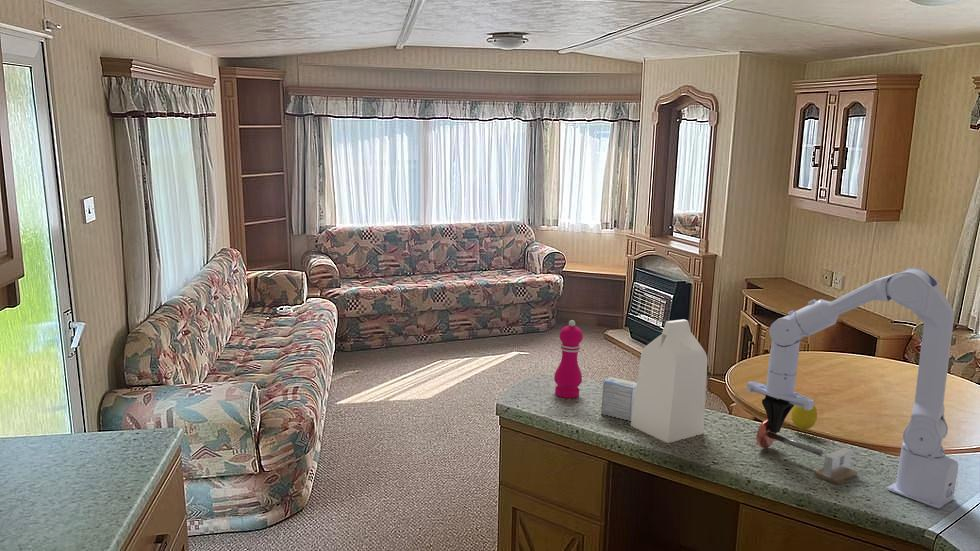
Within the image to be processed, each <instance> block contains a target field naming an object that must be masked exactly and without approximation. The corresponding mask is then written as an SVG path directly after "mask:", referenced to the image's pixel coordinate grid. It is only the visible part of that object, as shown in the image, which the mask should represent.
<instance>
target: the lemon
mask: <svg viewBox="0 0 980 551" xmlns="http://www.w3.org/2000/svg"><path fill="white" fill-rule="evenodd" d="M817 418H818V411H817V408H816V405H815V404H814V405H813V409H811V410H805V409H804V408H802V407H799V406H796V405H794V407H793V408H792V409H791V422H792V423H793V425H794V427H796V428H798V429H799V430H800V432H801V431H802V432H804V431H805V430H809V429H811V428H813V427H814V425H815V424H816V423H817Z"/></svg>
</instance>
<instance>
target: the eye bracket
mask: <svg viewBox="0 0 980 551" xmlns="http://www.w3.org/2000/svg"><path fill="white" fill-rule="evenodd" d="M852 454H853V449H852V448H848V447H846V446H845V447H842V448H840V449H838V450H835V451H833V452H831V453H828V454H826V455H825V456H824V461H823V467H822V468H820V469H818V470H816V471H814V474H813V476H814V477H816V478H820V479H822V480H825V481H827V482H831V483H833V484H835V485H837V486H840V485H841V484H843V483H846V482H847V481H849V480H851V479H853V478H856V477H857V476H858V473H859V472H858V471H857V470H854V469H851V461H852Z"/></svg>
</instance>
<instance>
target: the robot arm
mask: <svg viewBox="0 0 980 551" xmlns="http://www.w3.org/2000/svg"><path fill="white" fill-rule="evenodd" d="M891 300H892V301H893V302H895V303H897V304H898V305H900V306H902V307H904V308H906V309H909V310H910V311H911V312H913V314H914V315H916V316H917V317H918V318H919V319H920V320H921V321H922V322H923V328H922V336H921V344H920V345H921V346H920V352H919V362H918V370H917V378H916V379H917V380H916V386H915V387H916V388H915V396H914V402H913V407H912V411H911V414H910V421H909V423H908V424H907V426H906V427H905V428H904V430H903V433H902V439H903V441H902V442H901V448H900V449H901V450H900V456H899V460H898V461H899V463H898V468H897V473H896V480H895V482H894V483H892V484H890V485H888V486H886V490H888V491H890V492H893V493H895V494H898V495H901V496H902V497H906V498H909V499H911V500H915V501H917V502H919V503H922V504H925V505H928V506H930V507H932V508H935V509H941V508H942V507H944V506H945V505H946V504H948V503H950V502H951V501H953V500H955V490H956V483H957V477H958V473H959V472H958V471H959V464H958V461H957V460H955V459H952V458H950V456H948V455H946V450H945V449H944V447H943V445H942V442H943V440H944V438H946V436H947V435H948V431H949V428H948V427H949V426H948V424H947V422H946V419H945V404H944V403H945V402H944V401H945V396H946V395H945V392H946V387H947V386H946V385H947V378H948V369H949V361H950V352H951V344H952V337H953V336H952V335H953V329H954V322H955V311H954V309H953V307H952V305H951V303H950V302H949V300H948V299H947V297H946V295H945V293H944V291H943V290H942V288H941V285H940V284H939V281H938V279H937V278H935V277H934V276H932V275H931V274H930V273H929V272H927V271H926V270H925V269H922V268H920V267H919V268H918V267H910V268H906V269H905V270H903V271H902V272H896V273H892V274H889V275H886V276H883V277H880V278H876V279H873V280H872V281H870V282H868V283H866V284H864V285H862V286H860V287H858V288H856V289H854V290H852V291H849V292H848V293H846V294H844V295H841V296H840V297H837V298H835V299H834V300H832V301H831V300H830V301H829V300H826V299H821V298H820V299H819V300H816V299H815V298H814V299H811V300H810V301H808V302H807V303H808V305H806V306H804V307H801V308H800V309H797V310H790V311H788V312H787V315H784V316H783V317H780V318H777V319H776V320H775V321H773V322H772V323H771V324H770V327H769V329H768V332H769V337H770V339H771V343H770V345H771V346H770V350H769V358H768V367H767V376H766V384H765V383H760V382H757V381H753V380H752V381H749V382H747V384H746V392H749V393H752V392H753V393H756V394H758V395H762V396H765V397H764V398H763V399H762V400H761V404H762V406H763V409H764V410H765V413H766V417H767V419H768V422H769V429H770V432H773V433H776V434H777V433H780V432H781V429H782V426H783V424H784V422H785V420H786V417H788V415H789V413H790V411H792V409H793V407H794V405H796V406H799V407H802V408H804V409H805V410H811V409H813V405H815V400H814V399H812V398H809V397H808V396H807V397H806V396H804V395H802V394H799V393H798V392H795V389H796V388H795V387H796V378H797V371H798V370H797V369H798V365H799V364H798V363H799V357H800V356H799V355H800V352H799V351H800V344H801V340H802V339H803V338H804V337H809V336H812V335H815V334H816V333H818V332H821V331H822V330H825V329H827V328H829V327H831V326H834V325H836V323H837V320H838V318H839V316H840V315H842V314H845V313H846V312H849V311H851V310H855V309H857V308H858V307H861V306H863V305H866V304H868V303H870V302H873V301H879V302H880V301H881V302H886V303H887V302H889V301H891Z"/></svg>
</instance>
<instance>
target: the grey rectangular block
mask: <svg viewBox="0 0 980 551" xmlns="http://www.w3.org/2000/svg"><path fill="white" fill-rule="evenodd" d="M602 383H603V384H602V392H601V393H602V396H601V406H600V407H601V408H600V415H602V414H603V416H606V415H608V416H607V417H610V416H612V418H614V417H616V418H615V419H618V418H620V420H622V419H624V421H626V420H628V421H627V422H630V421H631V419H632V412H633V406H634V399H635V392H636V386H637V381H636V382H635V381H631V380H628V379H627V380H626V379H622V378H617V377H612V376H610V377H608V378H606V379H605V380H603V382H602Z"/></svg>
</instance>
